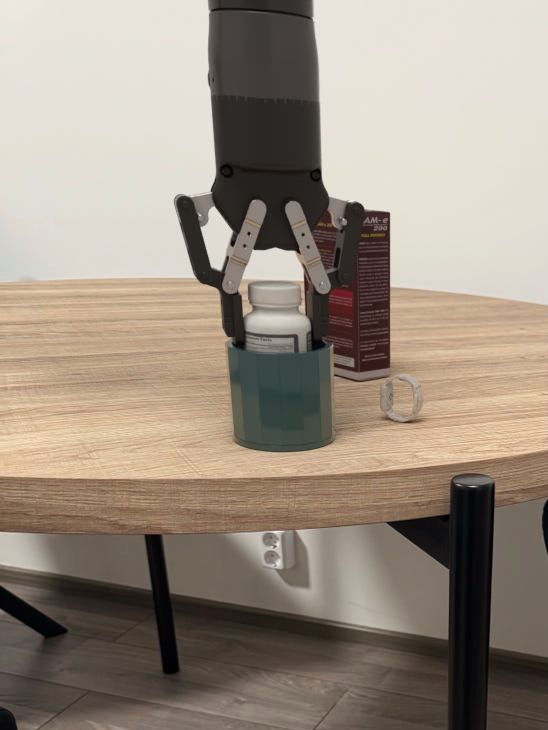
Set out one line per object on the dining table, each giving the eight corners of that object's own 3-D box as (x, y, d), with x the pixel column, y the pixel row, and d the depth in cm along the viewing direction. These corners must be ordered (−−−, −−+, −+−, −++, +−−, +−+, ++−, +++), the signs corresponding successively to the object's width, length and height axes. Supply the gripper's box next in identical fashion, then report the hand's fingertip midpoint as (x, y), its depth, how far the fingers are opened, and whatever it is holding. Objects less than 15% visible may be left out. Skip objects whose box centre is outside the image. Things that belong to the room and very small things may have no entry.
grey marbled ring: (425, 420, 84) (426, 374, 82) (417, 425, 82) (417, 379, 80) (388, 415, 85) (387, 370, 83) (379, 421, 83) (378, 375, 81)
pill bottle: (275, 400, 79) (268, 277, 75) (327, 410, 77) (324, 284, 73) (232, 413, 75) (223, 283, 71) (286, 424, 73) (280, 291, 69)
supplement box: (393, 376, 99) (393, 210, 92) (358, 382, 96) (355, 211, 88) (339, 362, 104) (335, 204, 96) (304, 367, 101) (297, 204, 93)
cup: (240, 454, 73) (233, 355, 69) (226, 426, 79) (219, 334, 76) (345, 448, 75) (343, 352, 72) (322, 421, 82) (319, 332, 78)
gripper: (162, 84, 60) (187, 354, 68) (379, 100, 65) (379, 350, 73) (154, 87, 67) (177, 335, 74) (353, 101, 71) (355, 333, 79)
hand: (277, 341), depth 74 cm, fingers closed on pill bottle, 5 cm apart
